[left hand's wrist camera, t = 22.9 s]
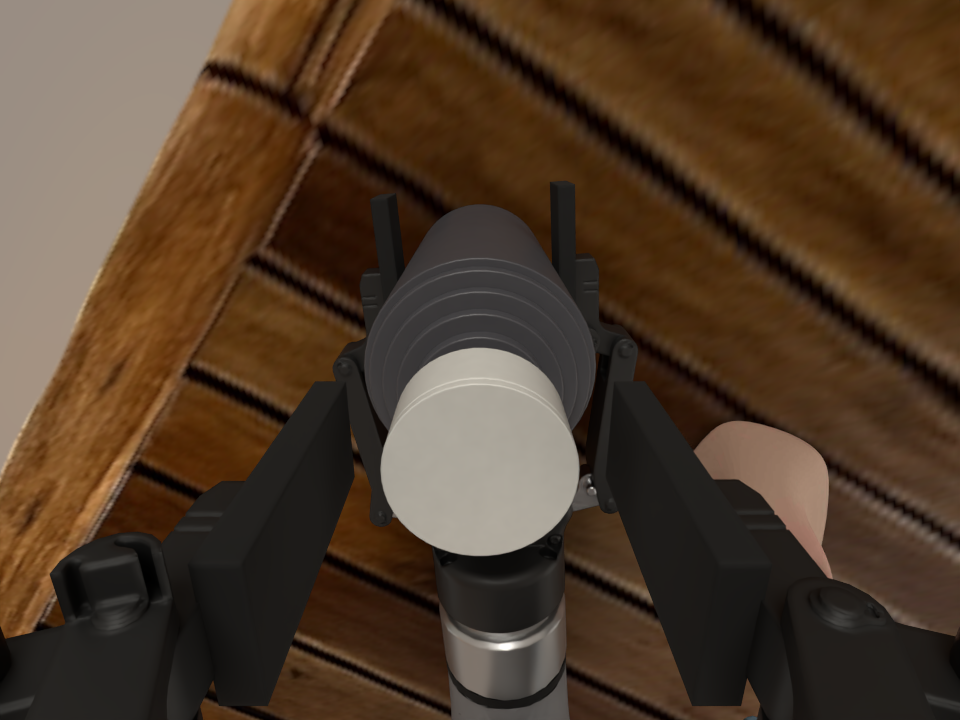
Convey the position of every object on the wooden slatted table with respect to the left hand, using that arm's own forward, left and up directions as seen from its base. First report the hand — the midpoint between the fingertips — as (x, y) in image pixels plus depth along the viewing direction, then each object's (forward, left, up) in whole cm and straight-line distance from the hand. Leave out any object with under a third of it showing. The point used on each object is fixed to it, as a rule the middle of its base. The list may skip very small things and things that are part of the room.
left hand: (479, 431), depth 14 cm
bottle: (0, 0, -20) cm, 20 cm away
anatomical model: (-24, +5, -20) cm, 32 cm away
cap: (0, 0, +2) cm, 2 cm away
